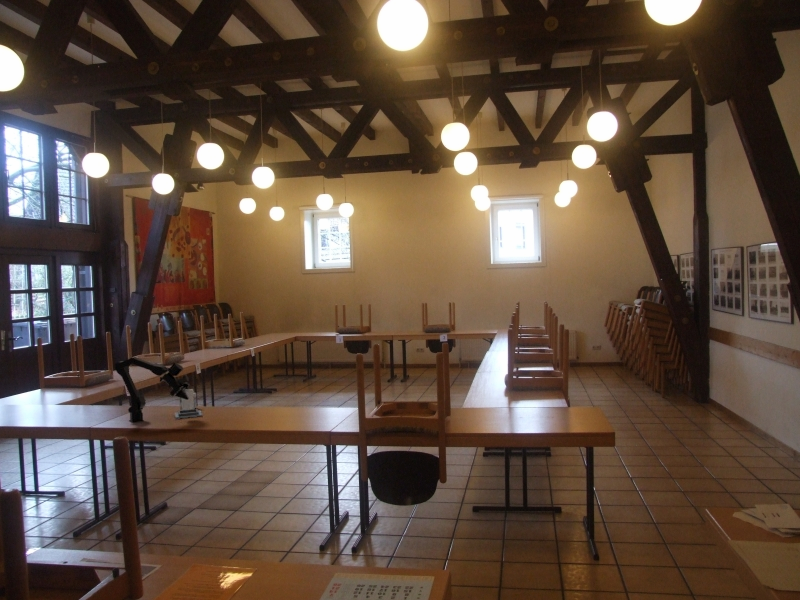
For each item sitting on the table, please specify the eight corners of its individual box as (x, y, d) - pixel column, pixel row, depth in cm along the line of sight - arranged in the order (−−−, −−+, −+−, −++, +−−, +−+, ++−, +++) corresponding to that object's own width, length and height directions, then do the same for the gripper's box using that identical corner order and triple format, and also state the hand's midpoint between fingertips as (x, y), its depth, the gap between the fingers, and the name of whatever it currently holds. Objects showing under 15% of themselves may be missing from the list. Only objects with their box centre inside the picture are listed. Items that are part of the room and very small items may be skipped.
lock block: (181, 409, 362) (181, 390, 362) (185, 408, 367) (184, 389, 367) (190, 409, 362) (190, 390, 362) (193, 408, 367) (193, 389, 367)
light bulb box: (188, 411, 391) (188, 395, 391) (179, 411, 393) (179, 395, 393) (197, 408, 402) (196, 392, 402) (188, 407, 403) (187, 392, 403)
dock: (175, 419, 367) (175, 415, 367) (174, 414, 382) (174, 410, 381) (202, 416, 373) (201, 412, 373) (200, 412, 388) (200, 407, 388)
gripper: (174, 374, 355) (192, 391, 355) (186, 370, 374) (203, 386, 374) (162, 387, 355) (180, 404, 355) (174, 382, 374) (192, 399, 374)
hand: (189, 398), depth 364 cm, fingers closed on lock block, 5 cm apart
